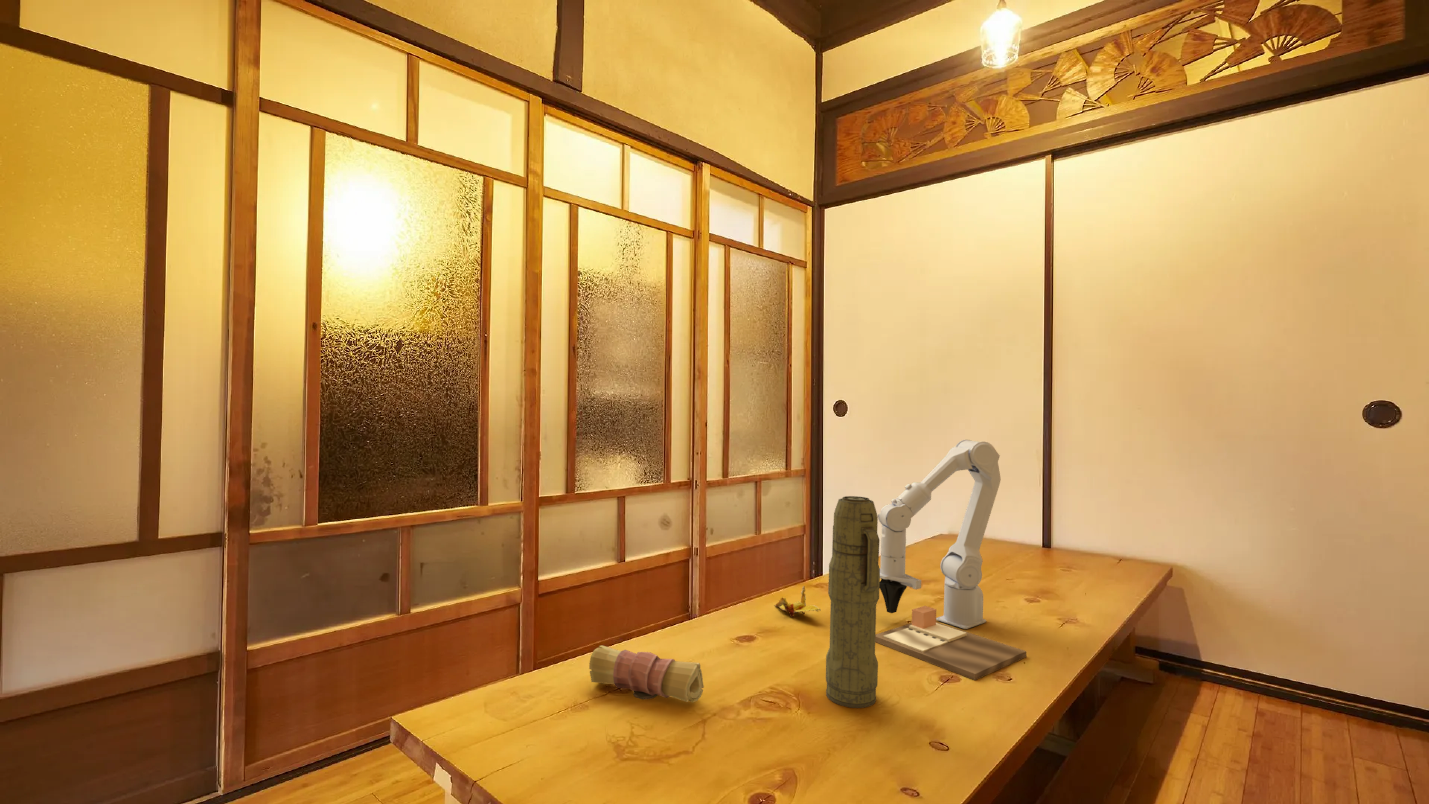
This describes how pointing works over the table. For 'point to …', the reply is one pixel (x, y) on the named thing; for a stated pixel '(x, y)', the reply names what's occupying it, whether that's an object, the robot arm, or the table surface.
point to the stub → (933, 625)
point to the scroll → (646, 674)
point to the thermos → (853, 604)
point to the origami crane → (796, 605)
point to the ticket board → (953, 651)
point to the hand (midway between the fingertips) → (891, 611)
